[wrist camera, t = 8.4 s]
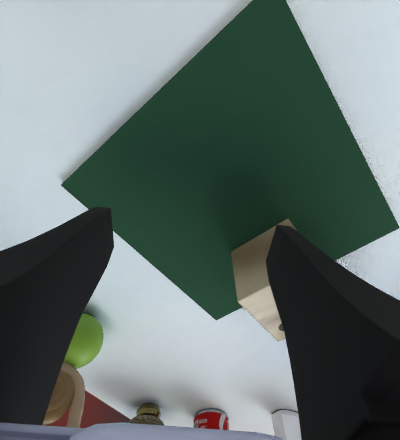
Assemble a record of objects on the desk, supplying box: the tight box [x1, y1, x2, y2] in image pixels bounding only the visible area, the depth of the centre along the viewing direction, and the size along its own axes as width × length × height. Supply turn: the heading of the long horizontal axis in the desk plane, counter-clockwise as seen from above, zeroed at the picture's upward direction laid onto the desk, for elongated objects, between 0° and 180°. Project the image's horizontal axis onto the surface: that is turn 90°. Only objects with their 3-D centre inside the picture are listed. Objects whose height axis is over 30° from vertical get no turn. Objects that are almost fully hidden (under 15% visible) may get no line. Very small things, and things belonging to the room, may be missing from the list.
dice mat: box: [61, 0, 399, 320], centre depth 22 cm, size 21×20×1 cm
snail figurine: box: [43, 313, 103, 428], centre depth 25 cm, size 5×6×12 cm
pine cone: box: [129, 404, 165, 426], centre depth 37 cm, size 8×7×8 cm
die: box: [231, 219, 296, 341], centre depth 22 cm, size 6×6×6 cm
